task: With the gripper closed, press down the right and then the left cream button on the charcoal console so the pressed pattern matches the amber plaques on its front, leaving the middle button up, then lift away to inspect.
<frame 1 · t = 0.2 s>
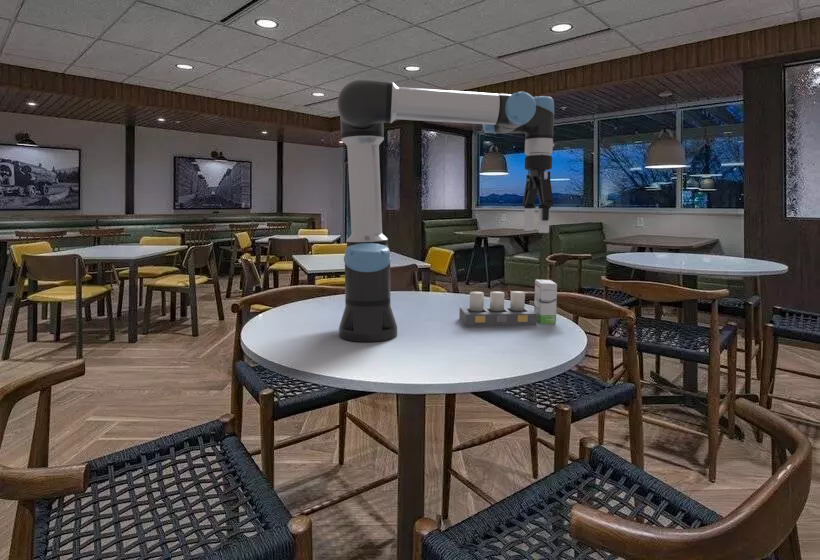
hand: (535, 231, 148), 26 cm above the table, fingers open, 13 cm apart
button mid: (497, 301, 150), point 6 cm above the table, slide at 0.0 cm
console: (496, 322, 151), on the table
ink box: (544, 321, 153), on the table
button left: (476, 301, 149), point 6 cm above the table, slide at 0.0 cm
button right: (517, 300, 150), point 6 cm above the table, slide at 0.0 cm
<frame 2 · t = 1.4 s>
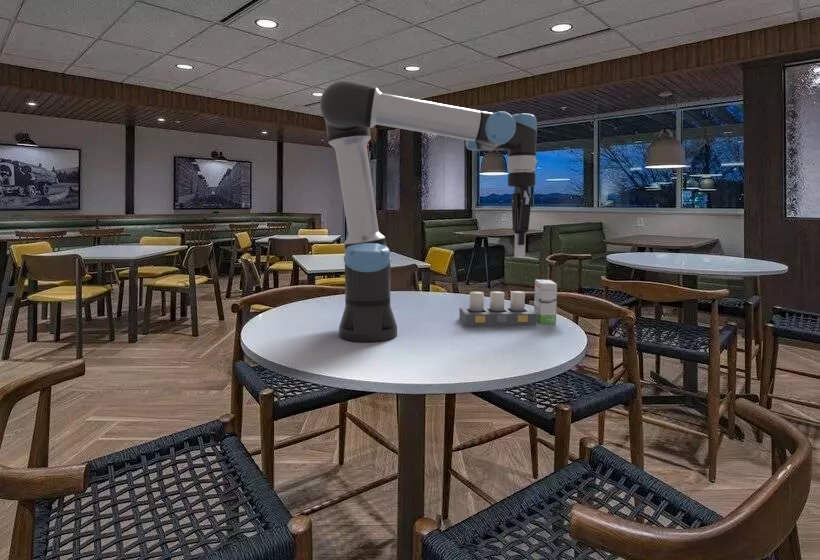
hand: (519, 256, 148), 19 cm above the table, fingers closed
nothing on the table moved.
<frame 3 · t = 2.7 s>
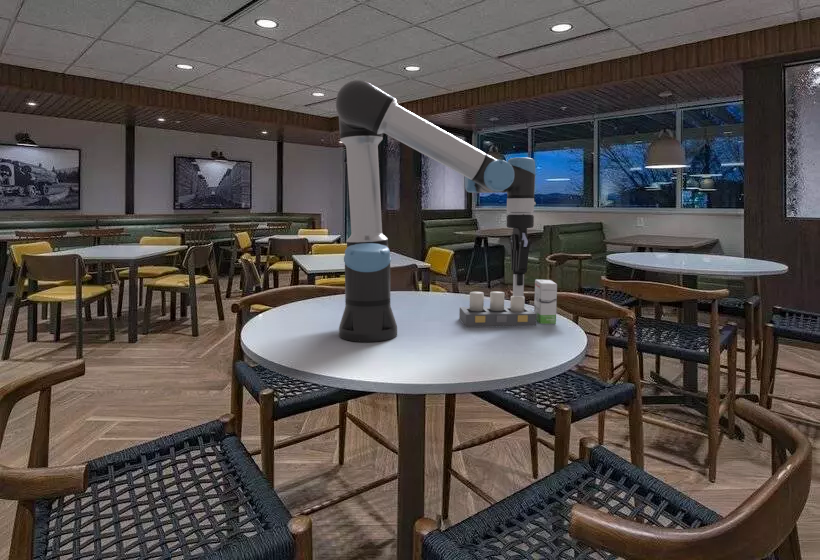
hand: (518, 296, 150), 8 cm above the table, fingers closed
button right: (517, 305, 150), point 5 cm above the table, slide at 1.4 cm, touching gripper
everything else where it was.
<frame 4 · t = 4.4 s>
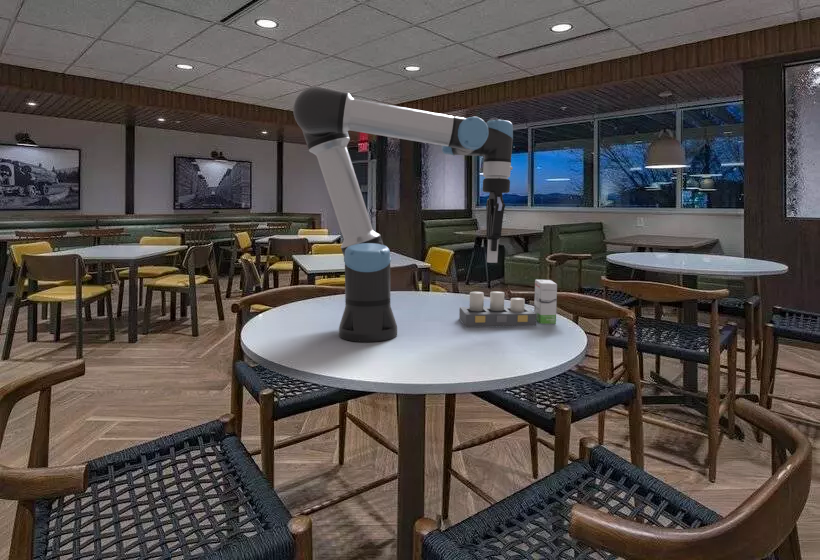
hand: (491, 262, 148), 17 cm above the table, fingers closed
button right: (517, 307, 150), point 4 cm above the table, slide at 2.0 cm
everything else where it was.
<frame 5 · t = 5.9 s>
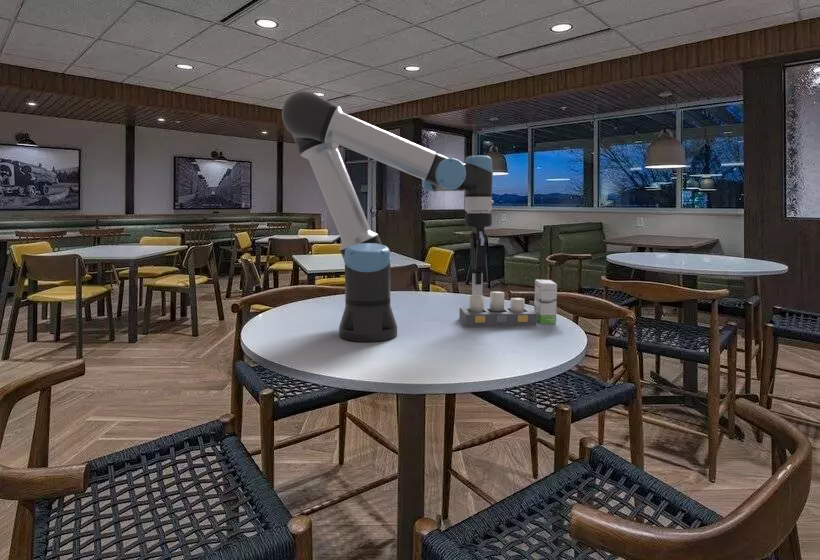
hand: (477, 295, 149), 8 cm above the table, fingers closed
button left: (476, 304, 149), point 5 cm above the table, slide at 1.0 cm, touching gripper
everything else where it was.
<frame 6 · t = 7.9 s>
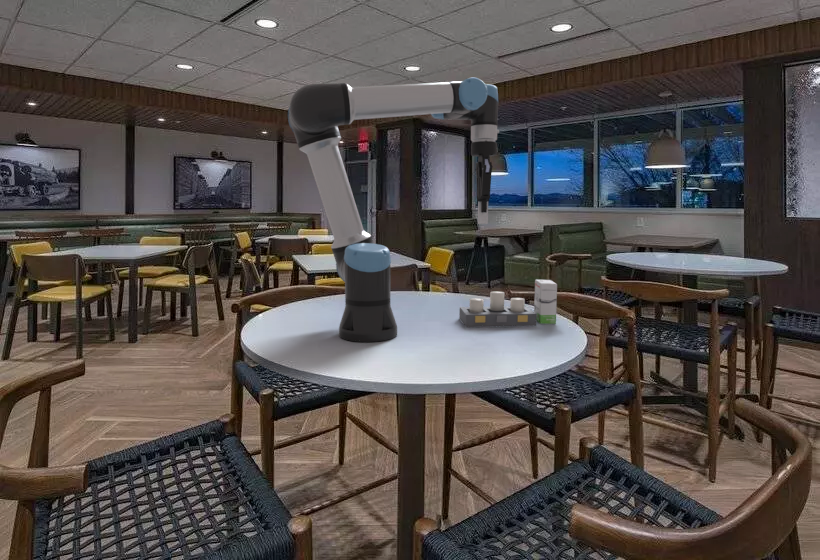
hand: (482, 223, 153), 28 cm above the table, fingers closed
button left: (476, 308, 150), point 4 cm above the table, slide at 2.0 cm
everything else where it was.
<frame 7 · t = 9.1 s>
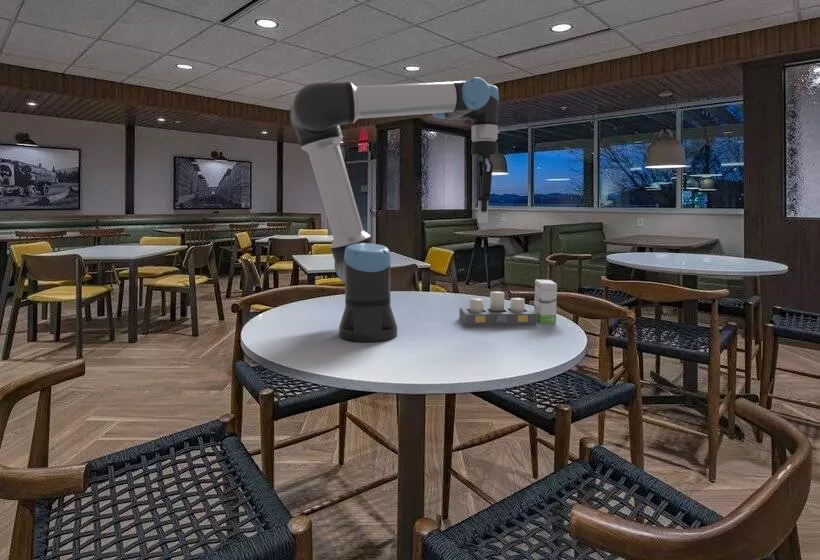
hand: (482, 222, 154), 28 cm above the table, fingers closed
nothing on the table moved.
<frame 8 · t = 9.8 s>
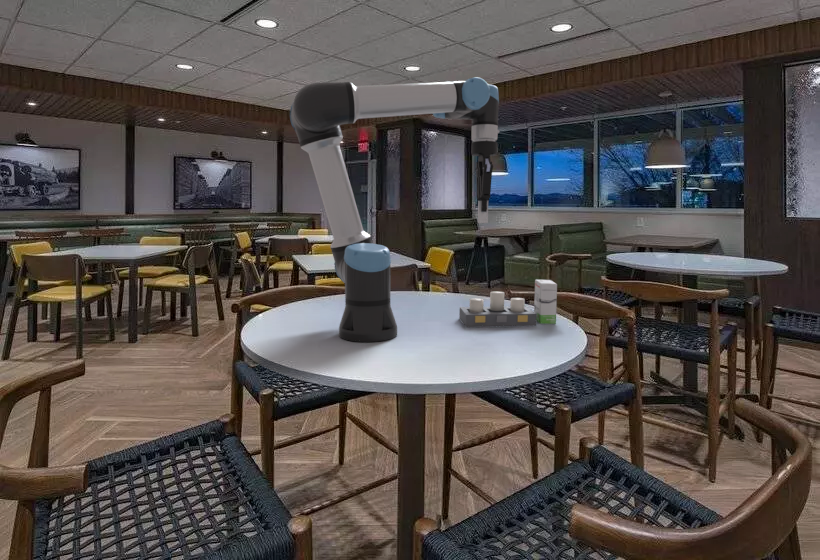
hand: (482, 222, 154), 28 cm above the table, fingers closed
nothing on the table moved.
at the end: button right slide at 2.0 cm; button left slide at 2.0 cm; button mid slide at 0.0 cm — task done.
